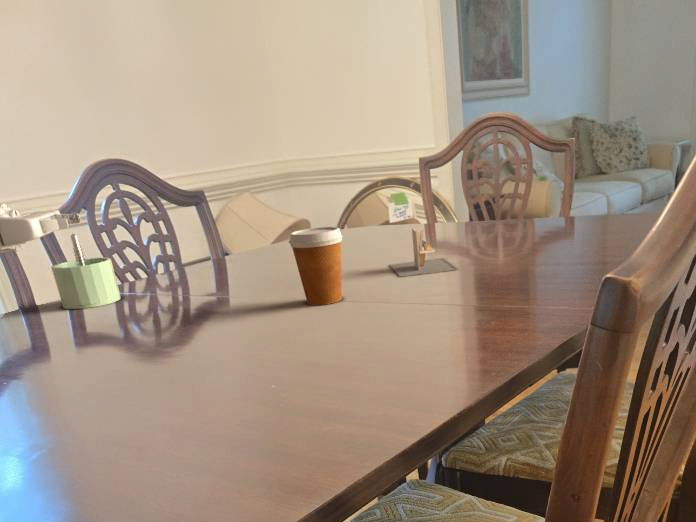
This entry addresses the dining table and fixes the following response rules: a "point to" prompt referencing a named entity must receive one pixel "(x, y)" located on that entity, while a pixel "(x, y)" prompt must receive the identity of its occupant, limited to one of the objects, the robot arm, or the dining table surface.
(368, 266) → the dining table surface
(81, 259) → the screw
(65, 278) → the green cup
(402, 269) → the architectural model
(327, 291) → the disposable coffee cup
